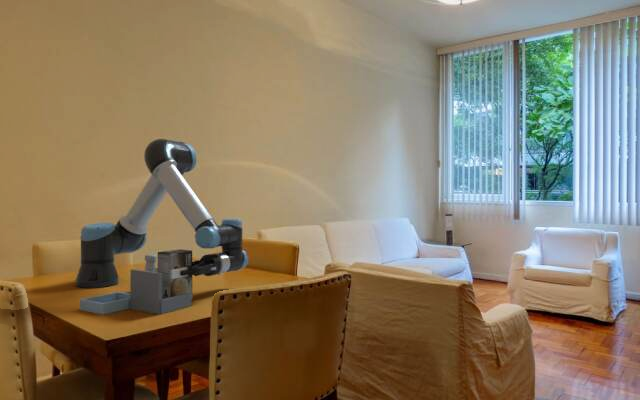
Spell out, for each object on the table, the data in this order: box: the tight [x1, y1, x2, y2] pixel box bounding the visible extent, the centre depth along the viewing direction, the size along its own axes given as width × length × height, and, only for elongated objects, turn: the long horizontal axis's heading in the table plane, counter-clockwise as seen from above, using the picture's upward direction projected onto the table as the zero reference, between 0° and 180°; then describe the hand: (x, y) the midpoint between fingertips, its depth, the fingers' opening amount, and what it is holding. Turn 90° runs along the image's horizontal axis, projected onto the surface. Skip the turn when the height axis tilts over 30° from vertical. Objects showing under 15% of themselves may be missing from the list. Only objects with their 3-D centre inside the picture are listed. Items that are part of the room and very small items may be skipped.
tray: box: [79, 291, 130, 316], centre depth 144 cm, size 11×14×3 cm
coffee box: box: [157, 249, 193, 300], centre depth 150 cm, size 9×6×16 cm
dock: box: [129, 269, 192, 315], centre depth 145 cm, size 13×13×12 cm
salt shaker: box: [144, 253, 158, 272], centre depth 172 cm, size 6×6×13 cm
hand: (163, 273), depth 146 cm, fingers closed on coffee box, 7 cm apart
